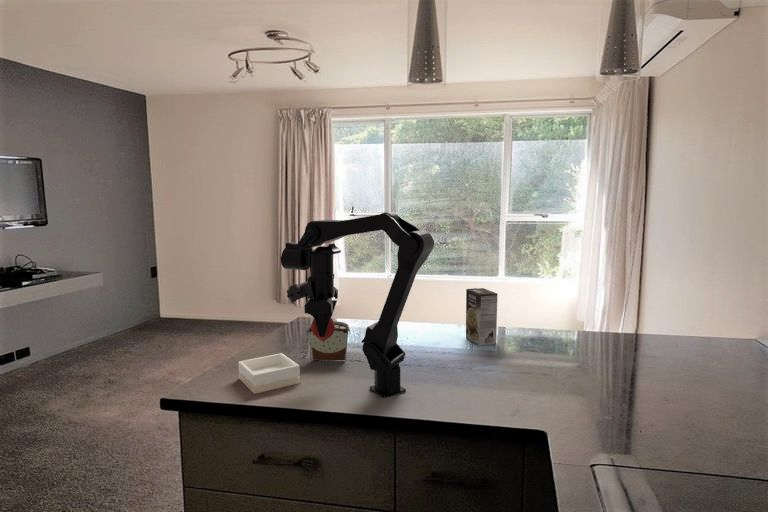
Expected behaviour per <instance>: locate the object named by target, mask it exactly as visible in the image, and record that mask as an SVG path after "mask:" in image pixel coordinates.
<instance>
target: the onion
mask: <svg viewBox="0 0 768 512" xmlns="http://www.w3.org/2000/svg"><path fill="white" fill-rule="evenodd" d="M311 324H312V326H311V330H312V333H313V334H314V335H315V336H316V337H317V338H318V339H319V340H320V341H322V342H324V341H325V340H327V339H328V338H329V337H331V336H332V335H333V333H334V331H335V324H334V320H333V318H332V317H331V318H330V321H329V324H328V327H327V330H326V333H325V336H324V337H320V336H319V333H318V329H317V326H316V322H315V319H314V318H313V320H312V322H311Z"/></svg>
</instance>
